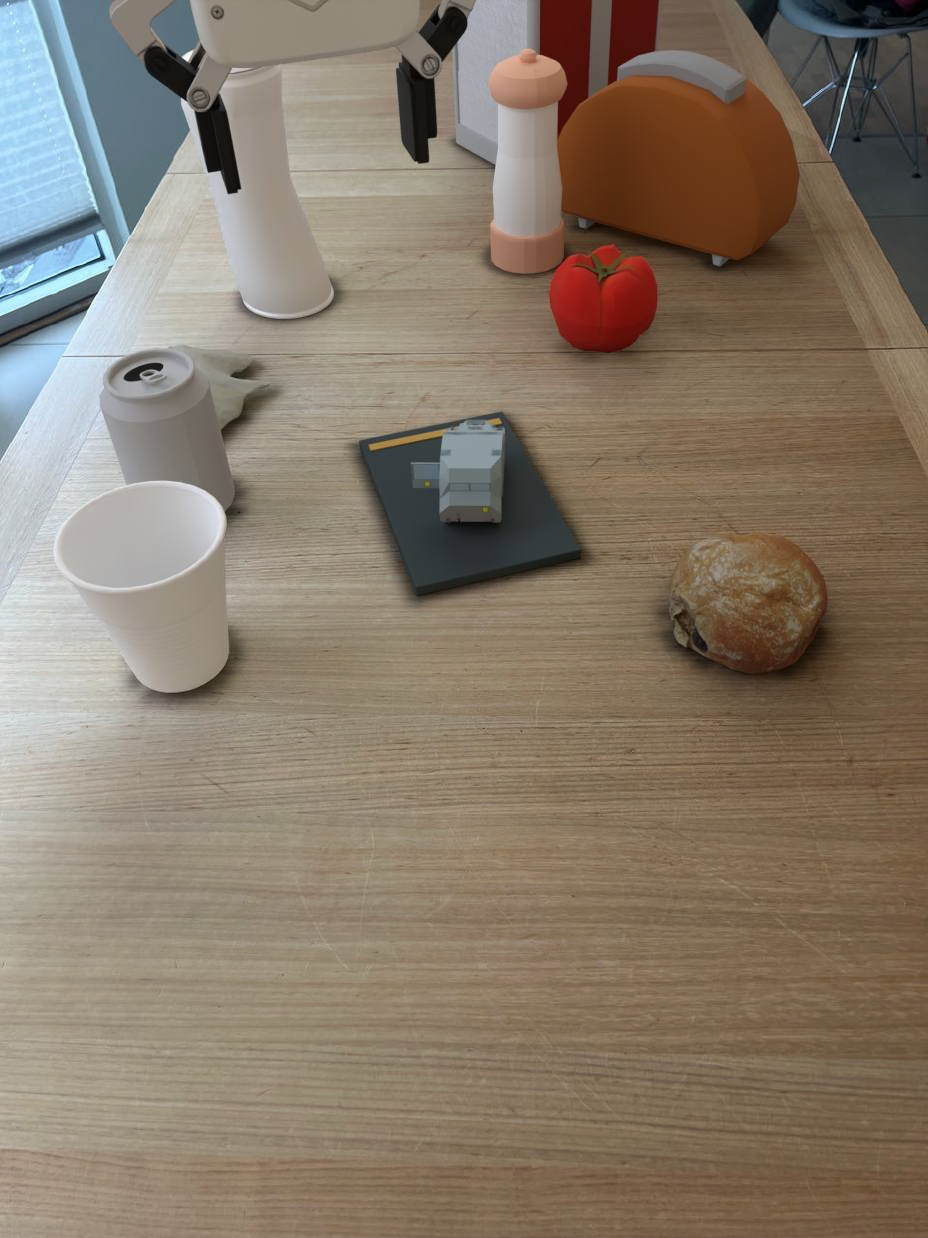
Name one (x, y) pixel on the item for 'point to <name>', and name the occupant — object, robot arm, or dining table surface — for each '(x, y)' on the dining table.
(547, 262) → the pepper shaker
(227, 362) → the crumpled beige cloth
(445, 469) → the toy car
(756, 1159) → the dining table surface
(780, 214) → the toaster
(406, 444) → the mat
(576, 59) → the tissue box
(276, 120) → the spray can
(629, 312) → the tomato
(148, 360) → the can
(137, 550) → the cup
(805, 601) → the bread roll
